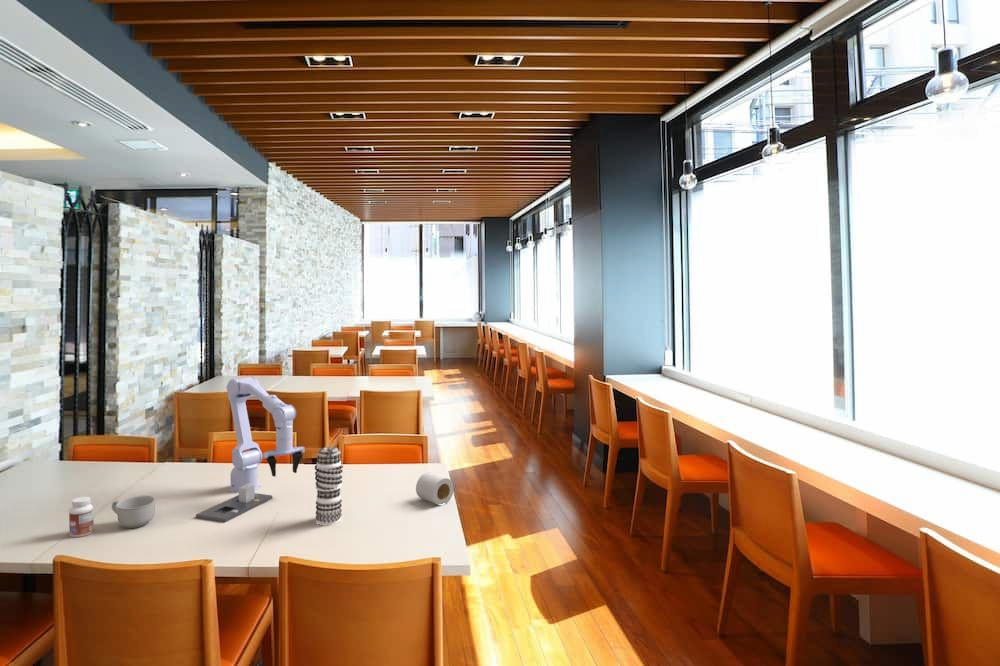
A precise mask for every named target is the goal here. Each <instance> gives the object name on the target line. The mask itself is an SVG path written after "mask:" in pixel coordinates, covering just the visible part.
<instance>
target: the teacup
mask: <svg viewBox="0 0 1000 666" xmlns="http://www.w3.org/2000/svg"><path fill="white" fill-rule="evenodd" d="M155 502H156V498H155V496H152V495H144V494H143V495H142V494H141V495H134V496H131V497H128V498H124V499H122V500H120V499H116V500H114V501H112V504H111V510H112V511H113V512H114V513H115V514H116V515H117V521H118V524H119V525H121V526H122V527H124V528H127V529H136V528H140V527H141V528H142V527H143V526H146V525H147V524H149V523H150V522H151V521H152V520H153V519H154V517H155V513H156V503H155Z"/></svg>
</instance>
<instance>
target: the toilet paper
mask: <svg viewBox="0 0 1000 666" xmlns="http://www.w3.org/2000/svg"><path fill="white" fill-rule="evenodd" d="M415 492H416V495H417V496H418V498H420V499H421V500H425V501H426V502H430V503H432V504H435V505H437V506H440V505H439V504H443V503H446V502H448V503H449V502H450V500H451V499H452V497H453V496H454V495H453V494H454V483H453V481H452V480H451V479H449V478H447V477H445V476H441V475H438V474H436V473H432V472H424V473H423V474H421V475H420V477H419V478H418V480H417V482H416V485H415ZM446 504H447V503H446Z"/></svg>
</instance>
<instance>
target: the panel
mask: <svg viewBox="0 0 1000 666" xmlns="http://www.w3.org/2000/svg"><path fill="white" fill-rule="evenodd" d="M270 499H271V500H273V495H271V494H264V493H257V492H256V493H255V499H253V500H251V501H249V502H247V503H244V502H239V494H237V495H236V496H233V497H231V498H229V499H226V500H225V501H223V502H221V503H218V504H216V505H213V506H211V507H209V508H207V509H205V510H202V511H200V512H198V513H196V514H195V518H196V519H201V520H206V521H214V522H220V523H227V522H229V521H231V520H234V519H235V518H237V517H240V516H242V515H243V514H245V513H247V512H249V511H251V510H253V509H255V508H257V507H259V506H260V505H263V504H265V503H267V502H269V501H271V500H270ZM268 500H269V501H268Z"/></svg>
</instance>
